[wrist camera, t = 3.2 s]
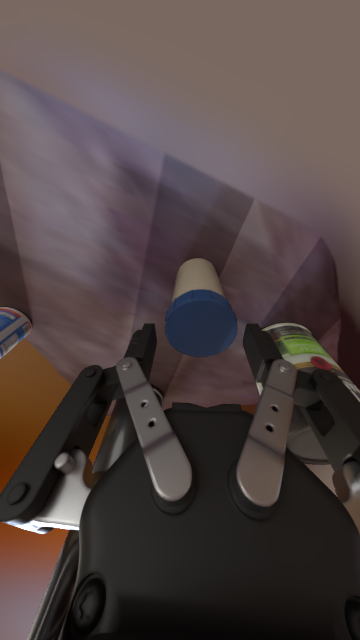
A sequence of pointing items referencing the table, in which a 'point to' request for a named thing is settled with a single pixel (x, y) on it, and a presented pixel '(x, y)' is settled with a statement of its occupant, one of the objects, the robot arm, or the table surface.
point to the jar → (197, 278)
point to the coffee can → (308, 357)
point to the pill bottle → (12, 328)
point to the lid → (200, 323)
